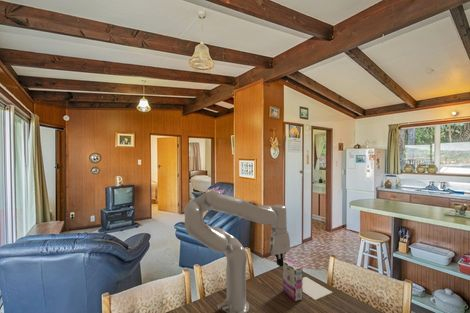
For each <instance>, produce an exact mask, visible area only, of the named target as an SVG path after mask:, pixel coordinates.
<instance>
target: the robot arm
mask: <svg viewBox="0 0 470 313" xmlns="http://www.w3.org/2000/svg"><path fill="white" fill-rule="evenodd" d="M210 210H212V211H214V212H219V213H223V214H226V215H231V216H234V217H238V218H240V219H244V220H248V221H251V222H253V223H257V224H261V225H266V226H271V229H270V238H269V252H270V256H271V257H275V258H276V265H277V266H279V267H283V261H284V258H285V256H286V254H287V253H288V252H290V251H291V241H290V235H289V232H288V231H287V230H288V229H287V228H288V226H287V224H288V222H287V208H286V206H285V205H283V204H274V205H266V204H265V205H264V204H263V205H255V204H253V203H250V202H248V201H247V200H244V199H243V198H239V197H236V196H231V195H227V194H224V193H220V192H219V191H217V190H215V189H213V190H209V191H207V192H205V193H203V194H201V195H199V196H198V197H195V198H194V199H193V198H192V200H189V201H188V202H187V203H186V204H185V205H184V208H183V213H184V229H185V231H186V233H187V234H188V235H189V236H190V237H191V238H192V239H194V240H196V241H197V242H199V243H201V245H204V247H206V248H208V249H210V250H211V251H213V252H214V253H219V254H220V253H223V254H224V255H225V258H226V268H225V269H226V270H225V271H226V272H225V273H226V274H225V277H226V282H225V283H226V284H225V285H226V298H224V301H223V302H222V303H219V304H217V305H216V306H217V309H218V310H220V309H222V311H223V312H225V313H248V312H249V310H250V304H249V302H248V301H247V280H246V279H247V277H246V276H247V271H246V270H247V261H248V260H247V259H248V255H247V251H246V249H245V247H244V246H243V244H242V243H241V242H240V241H239V240H238V239H237V237H235V236H233V235H231V234H230V233H228V232H227V231H226V230H224V229H222V228H220V227H218V226H217V227H216V226H213V227H211V225H209V224H206V223H205V222H204V213H206V212H207V211H210Z"/></svg>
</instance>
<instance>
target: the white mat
mask: <svg viewBox="0 0 470 313" xmlns="http://www.w3.org/2000/svg"><path fill="white" fill-rule="evenodd" d="M303 293H304V295H306V296H308V297H309V298H311V299H312V300H314V301H317V300H319V299H323V298H324V297H326V296H328V295H331V294H333V291H332V290H329V289H327V288H326V287H325V286H322V285H321V284H319V283H317V282H316V281H314V280H312V279H311V278H309V277H307V276H304V277H302V294H303Z"/></svg>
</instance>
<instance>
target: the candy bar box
mask: <svg viewBox="0 0 470 313" xmlns="http://www.w3.org/2000/svg"><path fill="white" fill-rule="evenodd" d="M282 271H283V272H282V280H283V281H282V286H283V287H282V288H283V289H282V291H283V292H284V293H285V294H286V295H287V296H289V297H290V298H291V299H292V300H293V301H294V302H298V301H301V300H303V298H304V297H303V292H302V278H303V267H301V266H300V265H299V264H297V263H295V262H294V261H292V259H291V260H290V259H289V260H283V266H282Z"/></svg>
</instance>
